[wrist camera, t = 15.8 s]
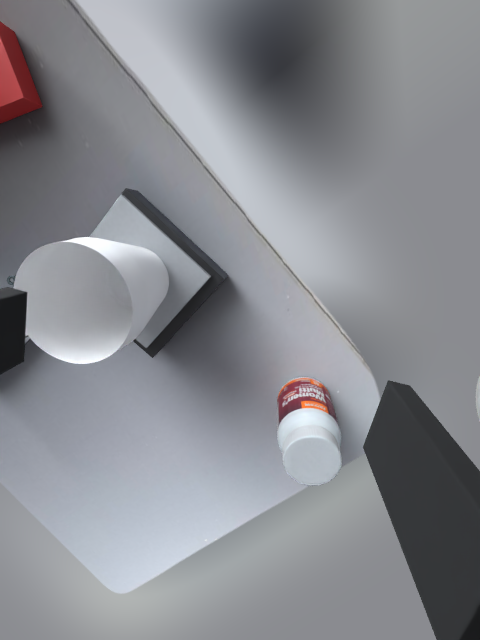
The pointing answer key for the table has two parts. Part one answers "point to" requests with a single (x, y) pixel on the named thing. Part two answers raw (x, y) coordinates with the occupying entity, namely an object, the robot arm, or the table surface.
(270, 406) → the table surface
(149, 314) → the cup
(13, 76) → the red rectangular block
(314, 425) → the pill bottle
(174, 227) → the scale
